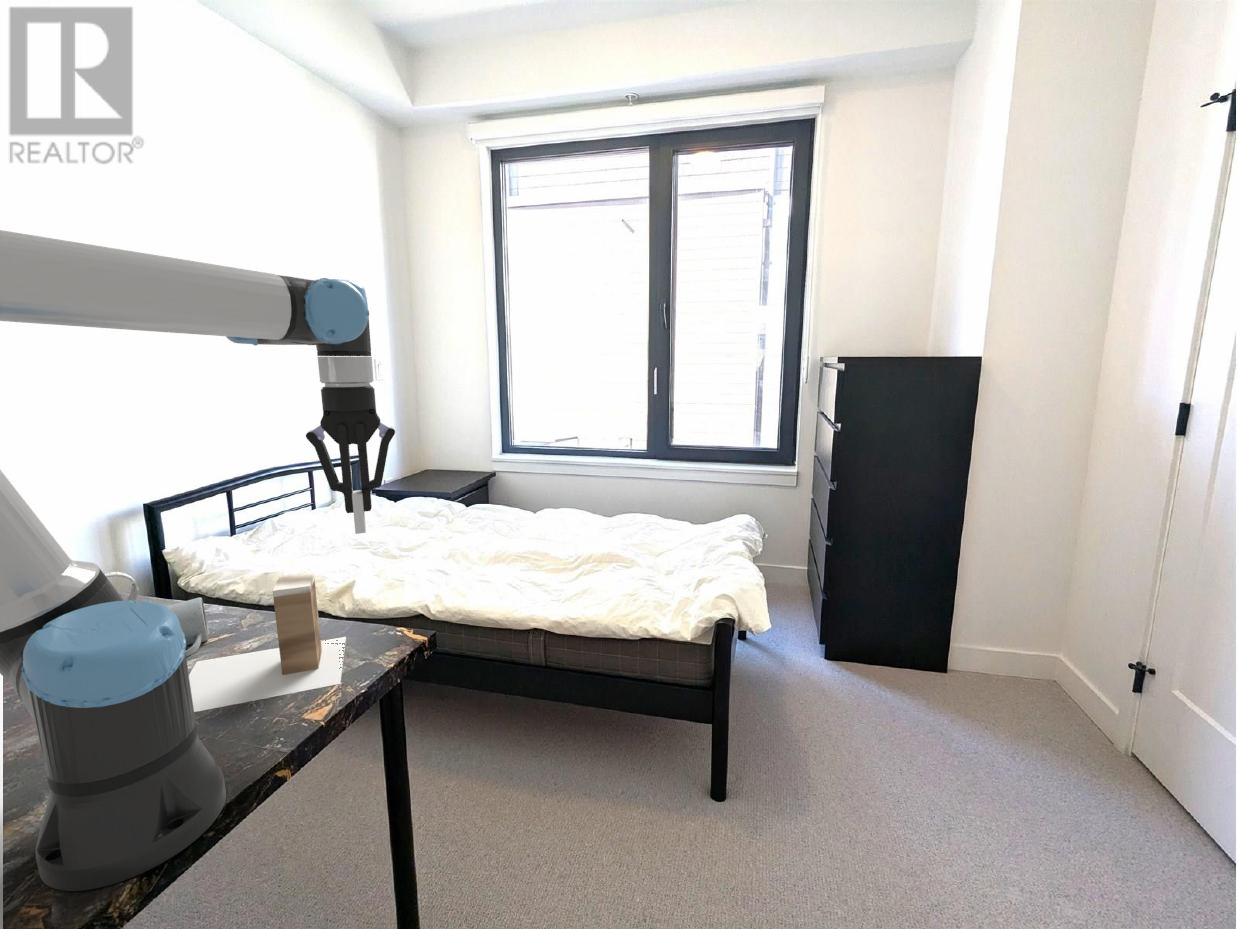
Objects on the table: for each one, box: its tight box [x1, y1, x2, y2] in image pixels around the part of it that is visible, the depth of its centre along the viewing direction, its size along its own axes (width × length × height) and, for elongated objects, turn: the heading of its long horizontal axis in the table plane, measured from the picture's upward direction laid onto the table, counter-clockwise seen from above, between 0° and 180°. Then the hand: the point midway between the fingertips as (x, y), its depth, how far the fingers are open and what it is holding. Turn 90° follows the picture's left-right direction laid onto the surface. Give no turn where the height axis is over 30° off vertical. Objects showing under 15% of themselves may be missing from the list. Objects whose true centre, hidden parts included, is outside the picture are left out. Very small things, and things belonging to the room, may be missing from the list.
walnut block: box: [272, 572, 322, 675], centre depth 90 cm, size 6×5×14 cm
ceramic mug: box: [165, 597, 210, 658], centre depth 96 cm, size 11×8×8 cm
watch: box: [103, 571, 140, 602], centre depth 102 cm, size 6×8×11 cm
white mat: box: [189, 636, 347, 713], centre depth 89 cm, size 16×22×1 cm
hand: (360, 530), depth 92 cm, fingers closed
